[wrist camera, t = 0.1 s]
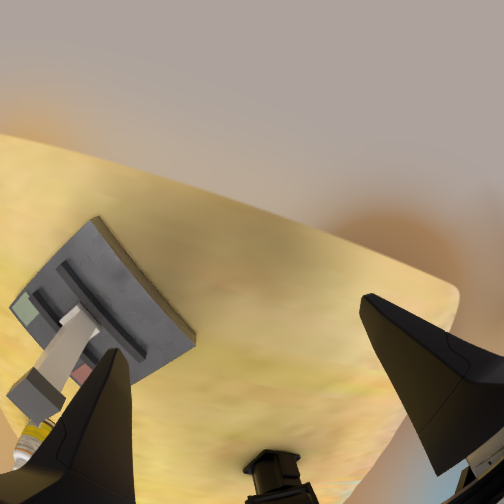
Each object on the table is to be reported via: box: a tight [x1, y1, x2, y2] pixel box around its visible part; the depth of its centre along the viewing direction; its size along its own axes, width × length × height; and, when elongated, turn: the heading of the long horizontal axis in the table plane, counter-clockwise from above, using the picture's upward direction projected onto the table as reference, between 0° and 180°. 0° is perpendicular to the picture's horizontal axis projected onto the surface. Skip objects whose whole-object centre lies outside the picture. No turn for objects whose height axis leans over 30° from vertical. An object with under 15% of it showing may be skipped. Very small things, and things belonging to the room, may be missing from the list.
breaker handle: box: [6, 302, 102, 424], centre depth 17 cm, size 3×4×11 cm
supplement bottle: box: [13, 418, 55, 470], centre depth 23 cm, size 6×6×10 cm
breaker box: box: [9, 216, 196, 387], centre depth 23 cm, size 14×14×3 cm
